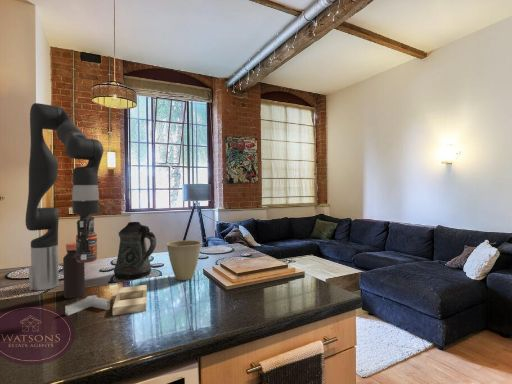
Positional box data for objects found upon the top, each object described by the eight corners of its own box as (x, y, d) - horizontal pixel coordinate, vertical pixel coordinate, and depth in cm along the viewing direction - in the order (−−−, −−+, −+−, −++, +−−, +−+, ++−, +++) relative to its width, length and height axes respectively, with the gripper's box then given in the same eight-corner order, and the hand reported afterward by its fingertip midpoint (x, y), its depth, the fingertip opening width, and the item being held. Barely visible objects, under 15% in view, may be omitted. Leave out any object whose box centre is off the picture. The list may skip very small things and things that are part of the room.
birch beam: (112, 315, 93) (112, 307, 93) (119, 294, 112) (119, 287, 112) (146, 310, 96) (145, 303, 96) (146, 291, 115) (146, 284, 115)
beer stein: (118, 271, 144) (117, 221, 143) (159, 268, 148) (158, 219, 148) (109, 281, 127) (108, 225, 127) (156, 278, 132) (155, 223, 132)
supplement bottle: (87, 263, 92) (87, 228, 92) (71, 262, 93) (71, 227, 93) (101, 259, 98) (100, 225, 97) (86, 258, 99) (85, 225, 99)
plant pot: (197, 283, 124) (196, 246, 124) (162, 283, 124) (162, 246, 124) (204, 273, 139) (203, 239, 139) (173, 273, 139) (172, 240, 139)
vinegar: (88, 293, 113) (87, 242, 112) (71, 300, 106) (70, 245, 106) (77, 291, 115) (76, 241, 115) (59, 297, 109) (58, 244, 109)
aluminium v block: (64, 315, 93) (64, 306, 93) (70, 306, 100) (70, 298, 100) (109, 309, 97) (109, 300, 97) (112, 301, 105) (112, 293, 105)
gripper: (77, 198, 100) (78, 247, 101) (66, 200, 87) (67, 256, 87) (102, 198, 103) (102, 245, 103) (94, 199, 89) (95, 253, 90)
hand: (86, 250), depth 95 cm, fingers closed on supplement bottle, 6 cm apart
